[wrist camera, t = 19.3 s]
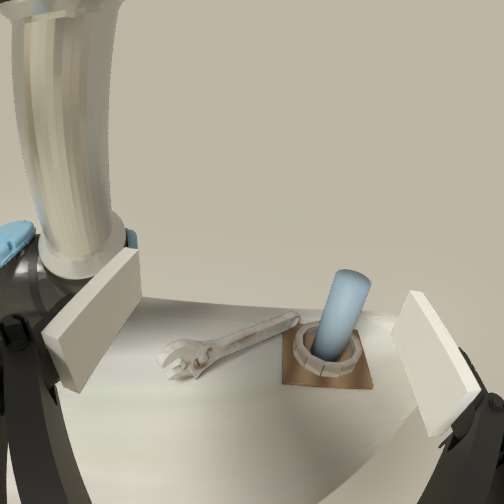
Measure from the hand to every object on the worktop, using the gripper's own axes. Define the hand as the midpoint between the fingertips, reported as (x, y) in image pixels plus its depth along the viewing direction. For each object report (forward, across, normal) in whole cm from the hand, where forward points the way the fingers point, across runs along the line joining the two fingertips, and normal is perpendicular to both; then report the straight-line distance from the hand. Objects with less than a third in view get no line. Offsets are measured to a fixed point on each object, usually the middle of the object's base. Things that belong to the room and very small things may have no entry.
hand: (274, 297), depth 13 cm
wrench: (+26, -2, -30) cm, 40 cm away
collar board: (+29, +14, -30) cm, 44 cm away
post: (+29, +14, -29) cm, 43 cm away
